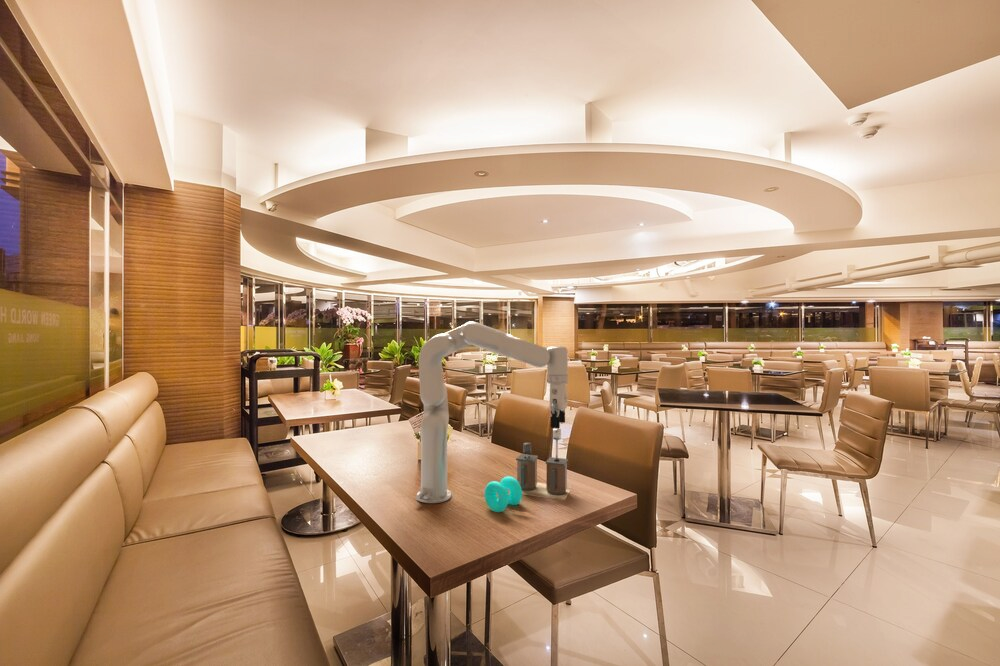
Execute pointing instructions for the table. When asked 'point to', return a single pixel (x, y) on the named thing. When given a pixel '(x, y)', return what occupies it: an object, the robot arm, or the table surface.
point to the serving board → (545, 492)
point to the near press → (556, 476)
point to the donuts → (503, 493)
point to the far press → (527, 469)
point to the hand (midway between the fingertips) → (558, 425)
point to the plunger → (556, 437)
